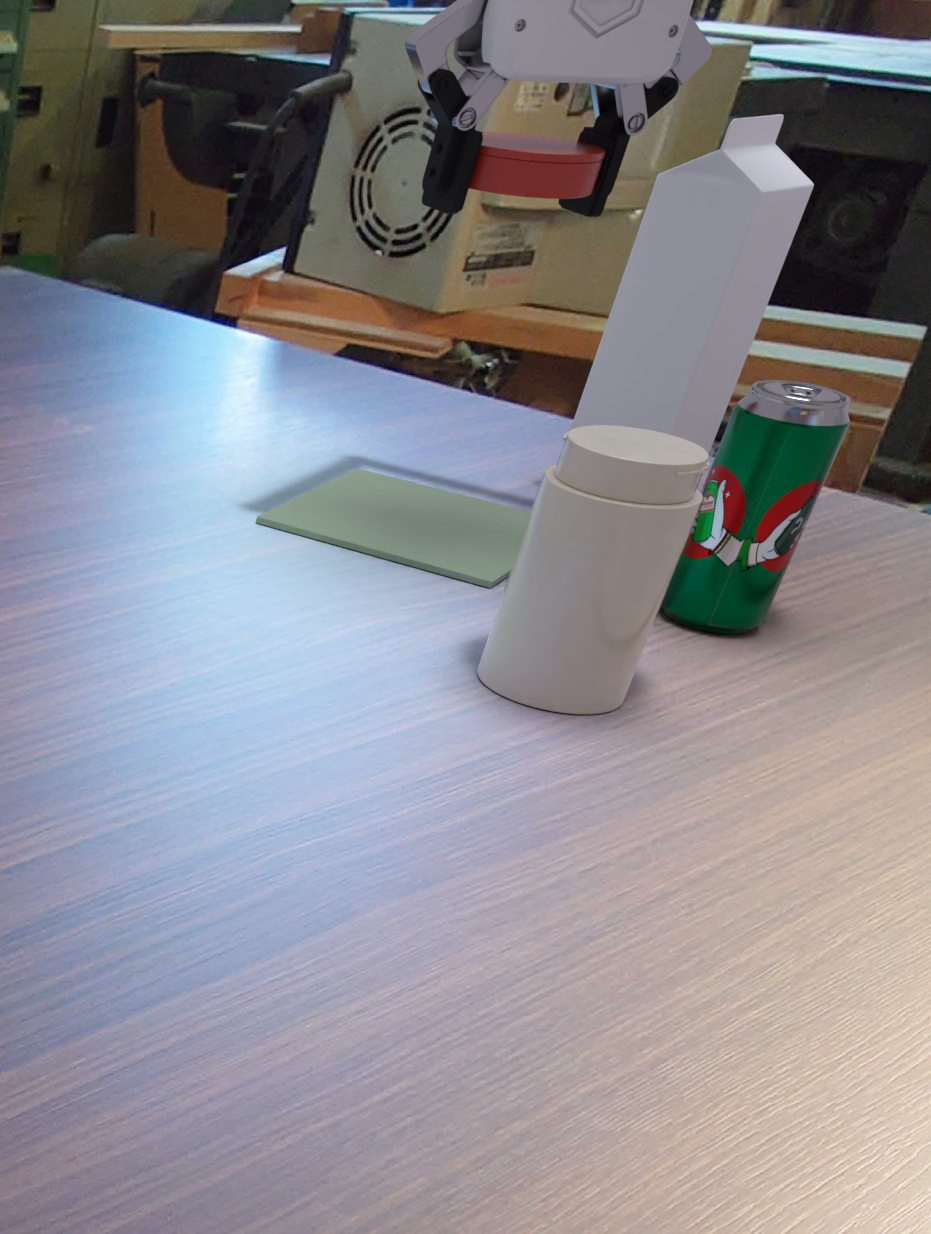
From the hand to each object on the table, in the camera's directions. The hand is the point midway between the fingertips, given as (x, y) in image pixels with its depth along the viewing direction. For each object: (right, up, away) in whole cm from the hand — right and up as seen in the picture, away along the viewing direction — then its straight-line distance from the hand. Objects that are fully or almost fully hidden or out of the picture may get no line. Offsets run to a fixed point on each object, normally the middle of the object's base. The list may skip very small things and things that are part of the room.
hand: (510, 208), depth 91 cm
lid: (0, +2, -2) cm, 3 cm away
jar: (-3, -27, -9) cm, 29 cm away
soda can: (+10, -23, -1) cm, 25 cm away
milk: (+14, -12, +15) cm, 24 cm away
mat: (-1, -15, +10) cm, 18 cm away
